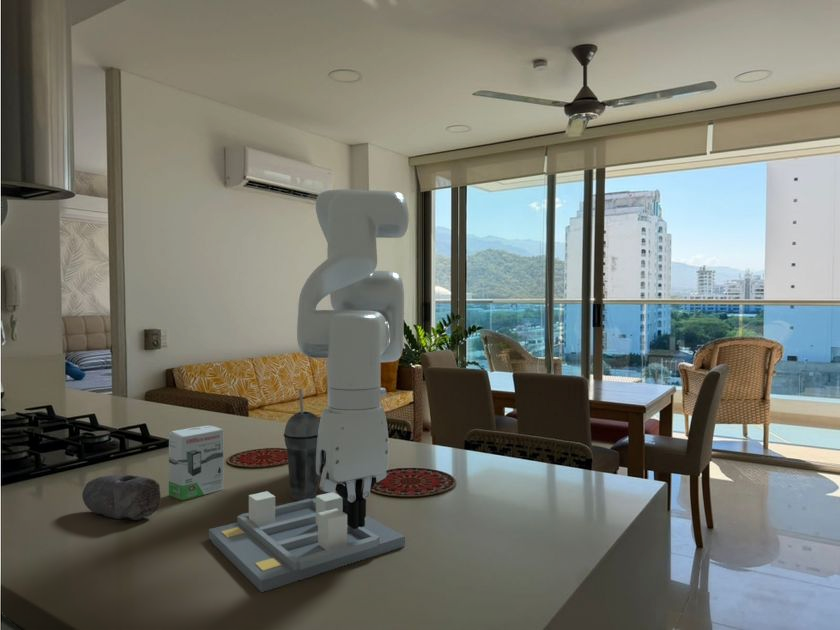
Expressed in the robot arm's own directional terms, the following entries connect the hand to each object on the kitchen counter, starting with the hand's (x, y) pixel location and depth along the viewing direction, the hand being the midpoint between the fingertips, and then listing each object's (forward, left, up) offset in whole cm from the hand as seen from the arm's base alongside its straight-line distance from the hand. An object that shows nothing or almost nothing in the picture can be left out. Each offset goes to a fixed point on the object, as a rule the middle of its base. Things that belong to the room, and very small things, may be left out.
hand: (354, 524), depth 84 cm
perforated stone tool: (+24, -35, -4) cm, 43 cm away
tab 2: (0, -7, -2) cm, 7 cm away
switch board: (+4, -7, -4) cm, 9 cm away
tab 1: (+8, -13, -2) cm, 16 cm away
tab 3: (+3, 0, -2) cm, 4 cm away
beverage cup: (-5, -25, -4) cm, 26 cm away
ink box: (+10, -39, -4) cm, 41 cm away
